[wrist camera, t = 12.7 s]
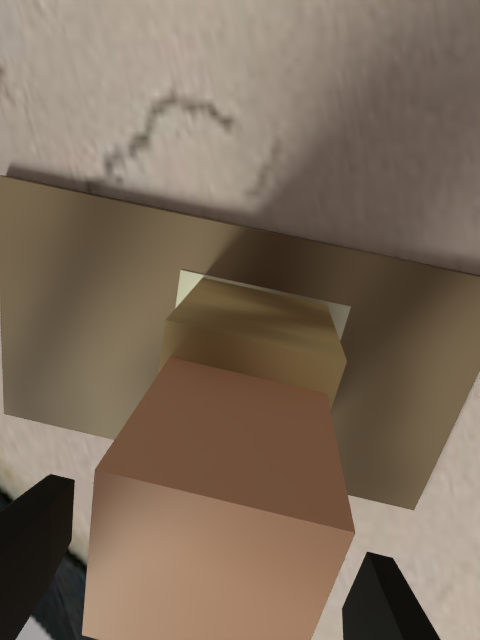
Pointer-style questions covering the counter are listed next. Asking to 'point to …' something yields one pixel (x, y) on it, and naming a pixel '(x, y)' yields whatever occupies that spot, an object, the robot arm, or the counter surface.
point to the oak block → (256, 336)
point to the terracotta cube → (217, 512)
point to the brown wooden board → (239, 269)
